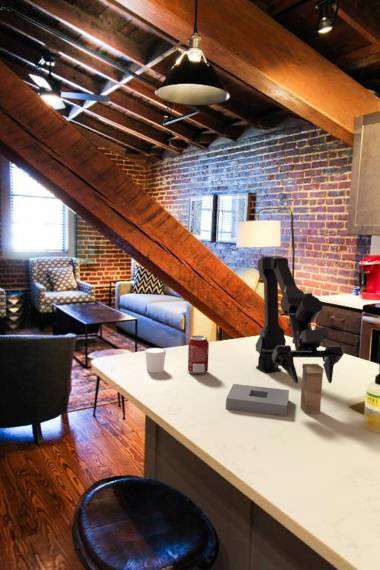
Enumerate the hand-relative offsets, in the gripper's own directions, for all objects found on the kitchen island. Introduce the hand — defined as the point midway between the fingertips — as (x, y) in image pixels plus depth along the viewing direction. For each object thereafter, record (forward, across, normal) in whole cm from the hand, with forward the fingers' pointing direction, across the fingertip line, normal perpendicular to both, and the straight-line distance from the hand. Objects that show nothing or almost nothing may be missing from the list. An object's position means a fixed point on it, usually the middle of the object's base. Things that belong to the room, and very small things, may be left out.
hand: (313, 382), depth 121 cm
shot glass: (-20, -41, +32) cm, 56 cm away
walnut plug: (+5, 0, +7) cm, 9 cm away
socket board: (+2, -13, +10) cm, 17 cm away
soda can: (-18, -27, +30) cm, 45 cm away
